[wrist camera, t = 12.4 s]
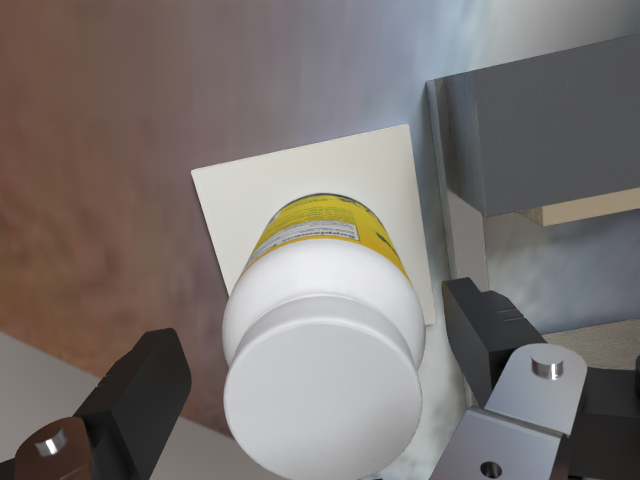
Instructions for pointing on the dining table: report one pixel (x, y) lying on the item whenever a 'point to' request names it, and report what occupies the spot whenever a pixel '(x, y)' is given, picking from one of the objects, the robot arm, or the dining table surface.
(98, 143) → the dining table surface
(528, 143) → the bench vise
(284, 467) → the pill bottle
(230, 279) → the placing pad
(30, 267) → the dining table surface
